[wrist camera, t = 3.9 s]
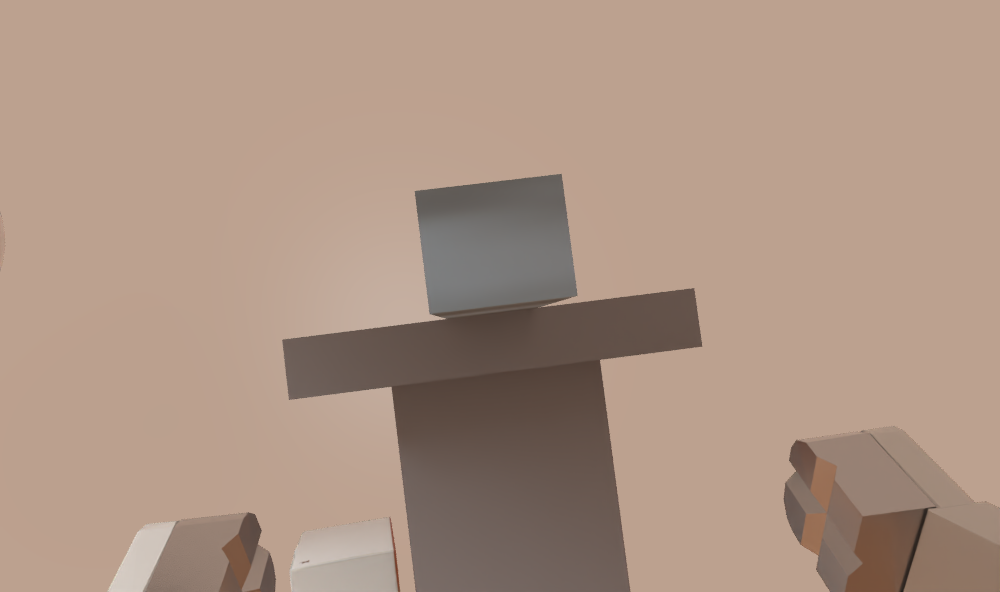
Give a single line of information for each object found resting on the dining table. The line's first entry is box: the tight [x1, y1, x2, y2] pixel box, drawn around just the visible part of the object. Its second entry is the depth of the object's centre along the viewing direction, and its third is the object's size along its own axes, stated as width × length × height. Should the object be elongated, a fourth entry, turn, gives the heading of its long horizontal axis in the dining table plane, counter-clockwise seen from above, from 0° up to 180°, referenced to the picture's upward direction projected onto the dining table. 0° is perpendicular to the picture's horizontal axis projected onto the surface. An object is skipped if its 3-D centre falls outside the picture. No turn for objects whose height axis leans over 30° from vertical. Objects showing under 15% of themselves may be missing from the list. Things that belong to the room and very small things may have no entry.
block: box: [415, 174, 577, 319], centre depth 24 cm, size 22×3×2 cm, turn 2°
